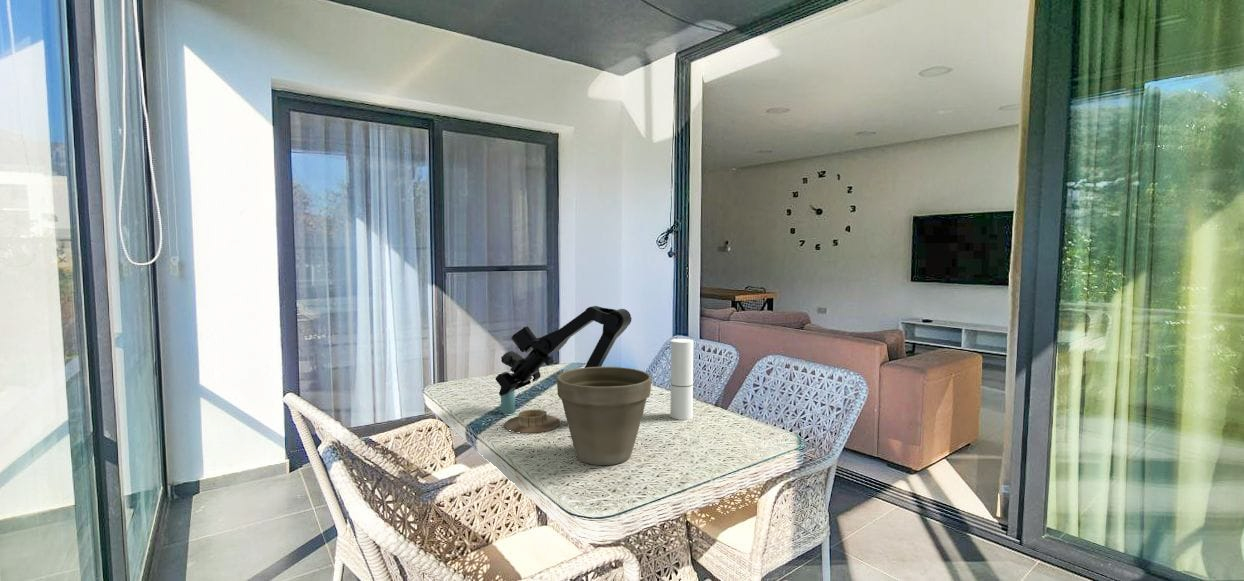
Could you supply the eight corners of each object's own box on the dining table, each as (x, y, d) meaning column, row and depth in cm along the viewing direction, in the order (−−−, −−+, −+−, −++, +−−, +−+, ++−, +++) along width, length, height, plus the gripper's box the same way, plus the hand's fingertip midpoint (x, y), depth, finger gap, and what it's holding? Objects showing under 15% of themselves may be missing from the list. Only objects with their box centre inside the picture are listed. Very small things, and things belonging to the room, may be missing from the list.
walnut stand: (570, 420, 180) (570, 409, 180) (542, 436, 164) (542, 425, 164) (524, 413, 187) (524, 403, 186) (493, 429, 171) (493, 418, 171)
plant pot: (600, 432, 168) (600, 361, 166) (669, 452, 152) (669, 373, 150) (537, 457, 149) (536, 376, 147) (608, 483, 133) (608, 392, 131)
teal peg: (517, 411, 188) (517, 373, 187) (509, 415, 184) (509, 376, 183) (506, 410, 190) (505, 372, 189) (498, 414, 186) (497, 375, 185)
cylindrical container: (692, 413, 187) (693, 338, 185) (692, 420, 180) (693, 342, 177) (670, 412, 187) (671, 338, 185) (670, 419, 180) (670, 342, 178)
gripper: (532, 339, 192) (505, 368, 198) (500, 349, 175) (471, 380, 181) (552, 364, 190) (525, 393, 195) (521, 376, 173) (492, 407, 178)
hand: (504, 392), depth 187 cm, fingers closed on teal peg, 4 cm apart
